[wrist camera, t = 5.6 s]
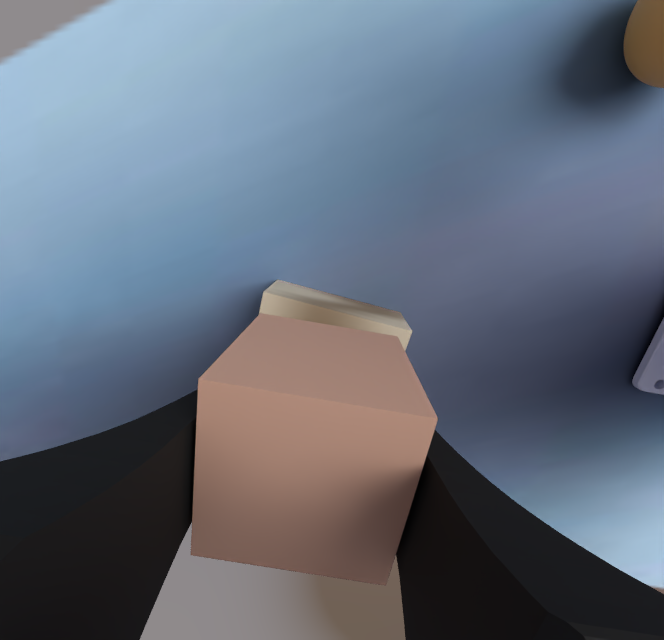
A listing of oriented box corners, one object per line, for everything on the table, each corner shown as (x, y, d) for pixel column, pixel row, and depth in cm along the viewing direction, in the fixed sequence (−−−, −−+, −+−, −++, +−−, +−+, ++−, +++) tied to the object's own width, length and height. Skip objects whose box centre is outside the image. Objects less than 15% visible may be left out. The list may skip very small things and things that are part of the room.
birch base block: (399, 310, 15) (412, 331, 12) (363, 413, 17) (367, 452, 14) (278, 278, 15) (263, 291, 12) (255, 386, 17) (237, 420, 14)
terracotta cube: (397, 336, 11) (438, 418, 6) (369, 449, 13) (386, 585, 8) (260, 313, 11) (198, 379, 6) (248, 429, 13) (190, 555, 8)
